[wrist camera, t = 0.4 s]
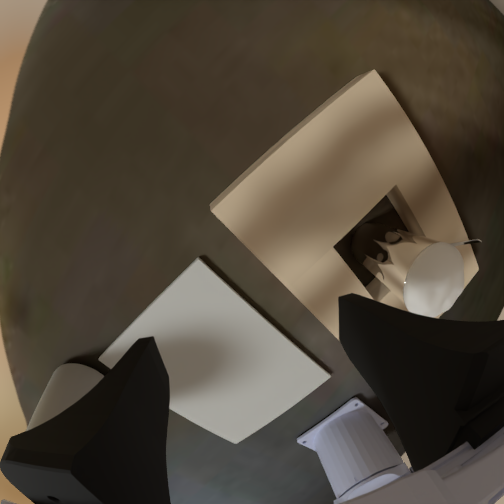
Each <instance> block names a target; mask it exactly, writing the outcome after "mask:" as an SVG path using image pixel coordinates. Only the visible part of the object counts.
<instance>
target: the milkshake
mask: <svg viewBox="0 0 504 504" xmlns="http://www.w3.org/2000/svg"><path fill="white" fill-rule="evenodd" d="M478 242H482V241H481V240H479V239H474V240H468V241H462V242H456V243H450V244H449V243H446V242H442V241H439V240H435V239H431V238H428V237H424V236H420V235H416V234H413V233H410V232H406V231H403V230H400V229H396V228H393V227H390V226H386V225H383V224H379V223H365V224H363V225H362V226H361V227H360V228H358V229H357V230H356V231H355V233H354V236H353V239H352V241H351V248H352V253H353V257H355V258H356V259H357V260H358V261H359V262H360V263H361V264H362V265H363V266H364V267H366V268H367V269H368V270H369V271H370V272H371V273H372V274H373V275H374V276H375V277H376V278H378V279H379V280H380V281H381V282H382V283H383V284H384V285H385V286H386V287H387V289H388V290H389V291H390V292H391V293H392V294H393V295H394V296H395V297H396V298H397V299H398V300H399V301H400V303H401V304H402V305H403V306H404V307H405V308H406V309H407V310H408V311H409V312H412V313H415V314H419V315H423V316H428V317H433V318H434V317H436V316H438V315H440V314H441V313H443V312H445V311H447V310H449V309H450V308H451V307H452V305H453V304H454V302H455V301H456V299H457V298H458V296H459V295H460V294H461V293H462V291H463V289H464V262H463V258H462V256H461V254H460V252H459V251H458V250H457V248H455V247H454V246H459V245H465V244H472V243H478Z"/></svg>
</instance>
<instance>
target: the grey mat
mask: <svg viewBox="0 0 504 504" xmlns="http://www.w3.org/2000/svg"><path fill="white" fill-rule="evenodd" d="M151 336H154V339H155V342H156V344H157V347H158V350H159V352H160V355H161V357H162V360H163V363H164V365H165V368H166V370H167V373H168V375H169V384H170V404H169V408H170V409H171V410H173V411H175V412H176V413H178V414H180V415H181V416H183V417H185V418H187V419H188V420H190V421H192V422H194V423H196V424H197V425H199V426H201V427H203V428H205V429H207V430H209V431H211V432H213V433H214V434H216V435H218V436H220V437H222V438H224V439H226V440H228V441H231V442H233V443H235V444H236V443H238V442H240V441H241V440H243V439H245V438H246V437H248V436H249V435H251V434H252V433H254V432H256V431H257V430H259V429H260V428H262V427H263V426H265V425H266V424H268V423H269V422H271V421H272V420H274V419H275V418H276V417H278V416H279V415H281V414H282V413H284V412H285V411H286V410H288V409H289V408H291V407H292V406H293V405H295V404H296V403H298V402H299V401H300V400H302V399H303V398H304V397H306V396H307V395H308V394H310V393H311V392H312V391H313V390H315V389H316V388H317V387H319V386H320V385H321V384H322V383H324V382H325V381H326V380H327V379H329V378H330V377H331V376H330V374H329V373H328V372H327V371H325V370H324V369H323V368H322V367H321V366H320V365H318V364H317V363H316V362H315V361H314V360H312V359H311V358H310V357H309V356H308V355H307V354H305V353H304V352H303V351H302V350H301V349H300V348H299V347H297V346H296V345H295V344H294V343H293V342H292V341H290V340H289V339H288V338H287V337H286V336H285V335H284V334H282V333H281V332H280V331H279V330H278V329H277V328H276V327H275V326H273V325H272V324H271V323H270V322H269V321H268V320H267V319H266V318H264V317H263V316H262V315H261V314H260V313H259V312H258V311H257V310H255V309H254V308H253V307H252V306H251V305H250V304H249V303H248V302H247V301H246V300H244V299H243V298H242V297H241V296H240V295H239V294H238V293H237V292H236V291H235V290H233V289H232V288H231V287H230V286H229V285H228V284H227V283H226V282H225V281H224V280H223V279H222V278H220V277H219V276H218V275H217V274H216V273H215V272H214V271H213V270H212V269H211V268H210V267H209V266H208V265H207V264H205V263H204V262H203V261H202V260H201V259H200V258H199V257H198V258H197V259H196V260H195V261H194V262H193V263H192V264H191V265H190V266H189V267H188V268H187V269H186V270H184V271H183V272H182V273H181V274H180V275H179V276H178V277H177V278H176V279H175V280H174V281H173V282H172V283H171V284H170V285H169V286H168V287H167V288H166V289H165V290H164V291H163V292H162V293H161V294H160V295H159V296H158V297H157V298H156V299H155V300H154V301H153V302H152V303H151V304H150V305H149V306H148V307H147V308H146V309H145V310H144V311H143V312H142V313H141V314H140V315H139V316H138V317H137V318H136V319H135V320H134V321H133V323H132V324H131V325H130V326H129V327H128V328H127V329H126V330H125V331H124V332H123V333H122V334H121V335H120V336H119V337H118V338H117V339H116V340H115V341H114V342H113V343H112V344H111V345H110V346H109V347H108V348H107V349H106V350H105V351H104V353H103V354H102V355H101V356H100V357H99V359H98V360H99V361H101V362H102V363H103V364H105V365H106V366H107V367H109V368H110V369H112V368H113V367H114V366H115V364H116V363H117V362H118V361H119V360H120V359H121V358H122V356H123V355H124V354H125V353H126V352H127V351H128V349H129V348H130V347H131V346H132V345H133V344H134V343H135V342H136V341H137V340H138V339H139V338H144V337H151Z"/></svg>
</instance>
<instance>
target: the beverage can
mask: <svg viewBox="0 0 504 504" xmlns="http://www.w3.org/2000/svg"><path fill="white" fill-rule="evenodd" d="M103 377H104V375H102V374H101V373H99V372H98V371H96V370H95V369H93V368H90V367H88V366H85V365H82V364H75V363H68V364H64V365H61V366H59V367H58V368H57V369H56V370H55V371H54V373H53V375H52V377H51V379H50V381H49V383H48V385H47V387H46V389H45V391H44V393H43V395H42V397H41V399H40V401H39V403H38V405H37V407H36V409H35V412H34V414H33V416H32V418H31V420H30V422H29V425H28V427H27V429H26V431H28V430H30V429H32V428H34V427H37V426H39V425H41V424H42V423H44V422H46V421H48V420H50V419H52V418H53V417H55V416H57V415H58V414H60V413H61V412H63V411H64V410H66V409H67V408H68V407H70V406H71V405H73V404H74V403H76V402H77V401H78V400H79V399H81V398H82V397H83V396H84V395H85V394H87V393H88V392H89V391H90V390H91V389H92V388H93V387H94V386H95V385H97V384H98V383H99V381H100V380H101V379H102V378H103Z"/></svg>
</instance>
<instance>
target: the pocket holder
mask: <svg viewBox="0 0 504 504" xmlns="http://www.w3.org/2000/svg"><path fill="white" fill-rule="evenodd" d="M385 195H387V197H388V198H389V200H390V201H391V203H392V205H393V206H394V208H395V210H396V211H397V213H398V214H399V216H400V218H401V219H402V221H403V223H404V225H405V226H406V228H407V230H408V231H409V232H410V233H413V234H416V235H420V236H424V237H428V238H431V239H435V240H439V241H442V242H446V243H449V244H450V243H456V242H462V241H468V240H469V239H468V236H467V234H466V231H465V229H464V226H463V224H462V221H461V219H460V216H459V214H458V212H457V209H456V207H455V205H454V203H453V200H452V198H451V196H450V194H449V192H448V190H447V187H446V185H445V183H444V181H443V179H442V177H441V175H440V173H439V171H438V169H437V167H436V165H435V163H434V162H433V160H432V158H431V156H430V154H429V152H428V150H427V149H426V147H425V145H424V143H423V142H422V140H421V138H420V136H419V135H418V133H417V131H416V130H415V128H414V126H413V125H412V123H411V122H410V120H409V118H408V117H407V115H406V114H405V112H404V111H403V109H402V108H401V106H400V104H399V103H398V102H397V100H396V99H395V97H394V96H393V94H392V93H391V91H390V90H389V88H388V87H387V86H386V84H385V83H384V82H383V80H382V79H381V77H380V76H379V75H378V73H377V72H376V71H375V69H374V70H371V71H369V72H367V73H364V74H362V75H359V76H357V77H356V78H354V79H353V80H352V81H350V82H349V83H348V84H347V85H345V86H344V87H343V88H342V89H340V90H339V91H338V92H337V93H335V94H334V95H333V96H332V97H330V98H329V99H328V100H327V101H325V102H324V103H323V104H322V105H321V106H319V107H318V108H317V109H316V110H315V111H313V112H312V113H311V114H310V115H309V116H307V117H306V118H305V119H304V120H303V121H301V122H300V123H299V124H298V125H297V126H295V127H294V128H293V129H292V130H291V131H290V132H288V133H287V134H286V135H285V136H284V137H283V138H282V139H280V140H279V141H278V142H277V143H276V144H275V145H274V146H272V147H271V148H270V149H269V150H268V151H267V152H266V153H265V154H263V155H262V156H261V157H260V158H259V159H258V160H257V161H256V162H255V163H253V164H252V165H251V166H250V167H249V168H248V169H247V170H246V171H245V172H244V173H242V174H241V175H240V176H239V177H238V178H237V179H236V180H235V181H234V182H233V183H232V184H231V185H230V186H228V187H227V188H226V189H225V190H224V191H223V192H222V193H221V194H220V195H219V196H218V197H217V198H216V199H215V200H214V201H213V202H212V203H211V204H210V209H211V211H212V212H213V213H214V214H215V215H216V216H217V217H218V218H219V219H220V220H221V221H222V222H223V223H224V225H225V226H226V227H227V228H228V229H229V230H230V231H231V232H232V233H233V234H234V235H235V236H236V237H237V238H238V239H239V240H240V241H241V242H242V243H243V244H244V245H245V246H246V247H247V248H248V249H249V250H250V251H251V252H252V253H253V254H254V255H255V256H256V257H257V258H258V259H259V260H260V261H261V262H262V263H263V264H264V265H265V266H266V267H267V268H268V269H269V270H270V271H271V272H272V273H273V274H274V275H275V276H276V277H277V278H278V279H279V280H280V281H281V282H282V283H283V284H284V285H285V286H286V287H287V288H288V289H289V290H290V291H291V292H292V293H293V294H294V295H295V296H296V297H297V298H298V299H299V300H300V301H301V302H302V303H303V304H304V305H305V306H306V307H307V308H308V309H309V311H310V312H311V313H312V314H313V315H314V316H315V317H316V318H317V319H318V320H319V321H320V322H321V323H322V324H323V325H324V326H325V327H326V328H327V329H328V330H329V331H330V332H331V333H332V334H333V335H334V336H335V337H336V338H337V339H338V340H339V306H338V297H339V296H343V295H347V294H350V293H354V294H358V295H361V296H364V297H367V298H370V299H373V300H375V301H378V302H381V303H384V304H386V305H389V306H392V307H395V308H398V309H401V310H405V311H408V310H407V309H406V308H405V307H404V306H403V305H402V304H401V303H400V301H399V300H398V299H397V298H396V297H395V296H394V295H393V294H392V293H391V292H390V291H389V290H388V289H387V287H386V286H385V285H384V284H383V283H382V282H381V281H380V280H379V279H378V278H376V277H375V278H374V279H373V280H372V281H371V282H370V283H369V284H368V285H367V286H366V287H364V286H363V285H362V283H361V282H360V281H359V279H358V278H357V277H356V276H355V274H354V273H353V272H352V270H351V269H350V268H349V267H348V265H347V264H346V263H345V262H344V260H343V259H342V258H341V256H340V255H339V254H338V253H337V251H336V250H335V249H334V248H333V246H334V245H335V244H336V243H337V242H338V241H340V240H341V239H342V238H343V237H344V236H345V235H346V234H347V233H348V232H349V231H350V230H351V229H352V228H353V227H354V226H355V225H356V224H357V223H358V222H359V221H360V220H361V219H362V218H363V217H364V216H365V215H366V214H367V213H368V212H369V211H370V210H371V209H372V208H373V207H374V206H375V205H376V204H377V203H378V202H379V201H380V200H381V199H382V198H383V197H384V196H385ZM454 247H455V248H457V250H458V251H459V252H460V254H461V256H462V258H463V262H464V288H465V287H466V285H467V284H468V283H469V282H470V280H471V279H472V278H473V277H474V275H475V274H476V273H477V271H478V270H479V268H478V265H477V262H476V259H475V256H474V253H473V250H472V247H471V245H470V244H465V245H459V246H454ZM408 312H409V311H408ZM441 315H442V313H441V314H440V315H438V316H436V317H434V318H439V317H440V316H441ZM339 341H340V340H339Z"/></svg>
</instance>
